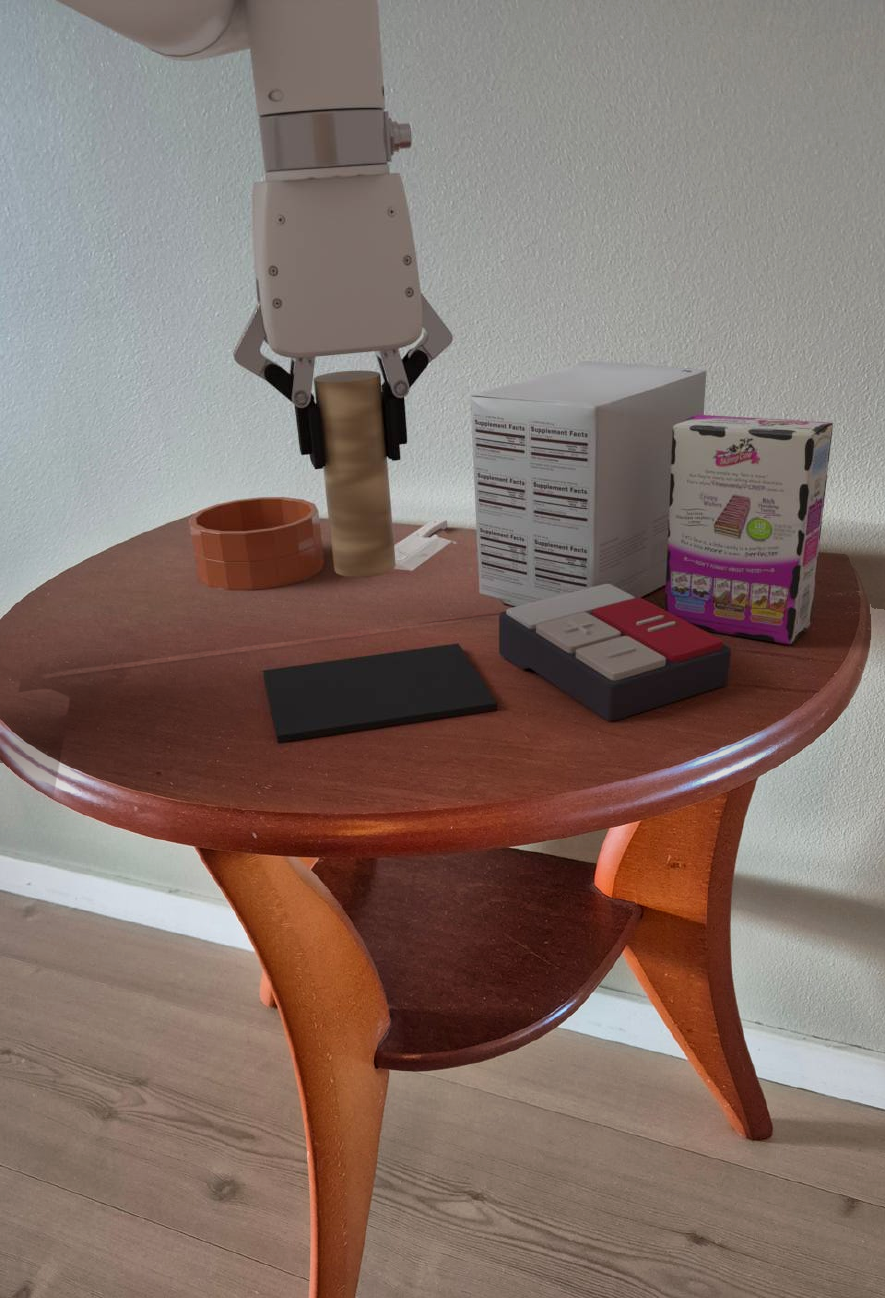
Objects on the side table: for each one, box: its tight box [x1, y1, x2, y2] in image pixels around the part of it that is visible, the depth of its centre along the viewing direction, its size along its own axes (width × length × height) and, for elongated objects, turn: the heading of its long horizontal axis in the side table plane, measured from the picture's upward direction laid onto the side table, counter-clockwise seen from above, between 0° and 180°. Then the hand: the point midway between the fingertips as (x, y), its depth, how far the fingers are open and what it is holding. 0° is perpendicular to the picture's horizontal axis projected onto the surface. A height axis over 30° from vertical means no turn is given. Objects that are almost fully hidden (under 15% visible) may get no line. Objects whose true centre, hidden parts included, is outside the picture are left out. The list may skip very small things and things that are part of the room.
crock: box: [188, 496, 325, 592], centre depth 107 cm, size 12×12×6 cm
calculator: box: [498, 584, 732, 722], centre depth 83 cm, size 11×4×15 cm
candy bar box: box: [663, 414, 834, 646], centre depth 86 cm, size 11×5×16 cm, turn 55°
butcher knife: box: [393, 518, 458, 572], centre depth 112 cm, size 5×15×1 cm, turn 155°
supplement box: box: [469, 360, 707, 607], centre depth 97 cm, size 17×13×18 cm
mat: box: [262, 643, 499, 744], centre depth 83 cm, size 16×12×1 cm
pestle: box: [313, 370, 396, 579], centre depth 75 cm, size 4×4×13 cm
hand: (354, 457), depth 74 cm, fingers closed on pestle, 4 cm apart
